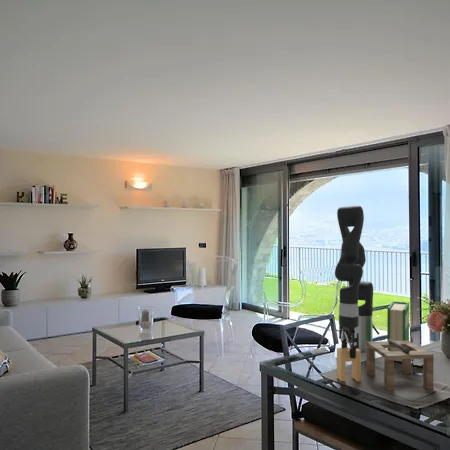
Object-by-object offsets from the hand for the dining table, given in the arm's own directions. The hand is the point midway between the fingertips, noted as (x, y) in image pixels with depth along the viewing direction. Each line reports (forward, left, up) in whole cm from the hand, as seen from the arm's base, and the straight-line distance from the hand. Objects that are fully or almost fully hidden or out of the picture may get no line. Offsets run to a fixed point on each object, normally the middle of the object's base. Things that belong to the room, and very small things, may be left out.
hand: (348, 354), depth 166 cm
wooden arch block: (0, 0, -10) cm, 10 cm away
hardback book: (-24, +34, -10) cm, 43 cm away
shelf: (+3, +19, -10) cm, 22 cm away
